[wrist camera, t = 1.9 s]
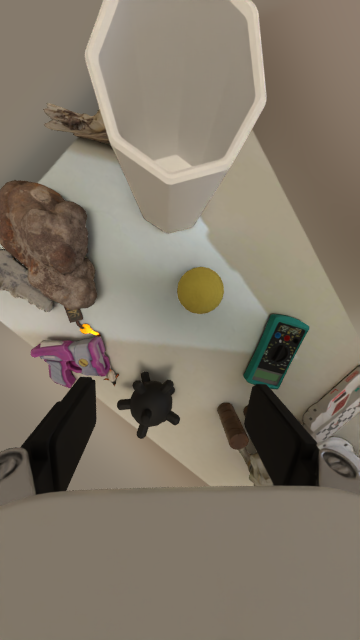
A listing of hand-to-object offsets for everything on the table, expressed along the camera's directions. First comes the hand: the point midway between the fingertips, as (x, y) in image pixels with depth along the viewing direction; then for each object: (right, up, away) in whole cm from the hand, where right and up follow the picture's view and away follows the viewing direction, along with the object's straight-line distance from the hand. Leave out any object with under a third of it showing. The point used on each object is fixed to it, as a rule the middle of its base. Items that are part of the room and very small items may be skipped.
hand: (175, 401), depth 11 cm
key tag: (-17, +5, +22) cm, 28 cm away
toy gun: (-18, -8, +25) cm, 32 cm away
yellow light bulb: (+3, +11, +22) cm, 25 cm away
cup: (-1, +24, +18) cm, 30 cm away
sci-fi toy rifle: (+29, -22, +31) cm, 48 cm away
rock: (-19, +16, +21) cm, 32 cm away
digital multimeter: (+19, -1, +27) cm, 33 cm away
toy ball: (-5, -9, +27) cm, 29 cm away
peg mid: (+10, -15, +30) cm, 35 cm away
